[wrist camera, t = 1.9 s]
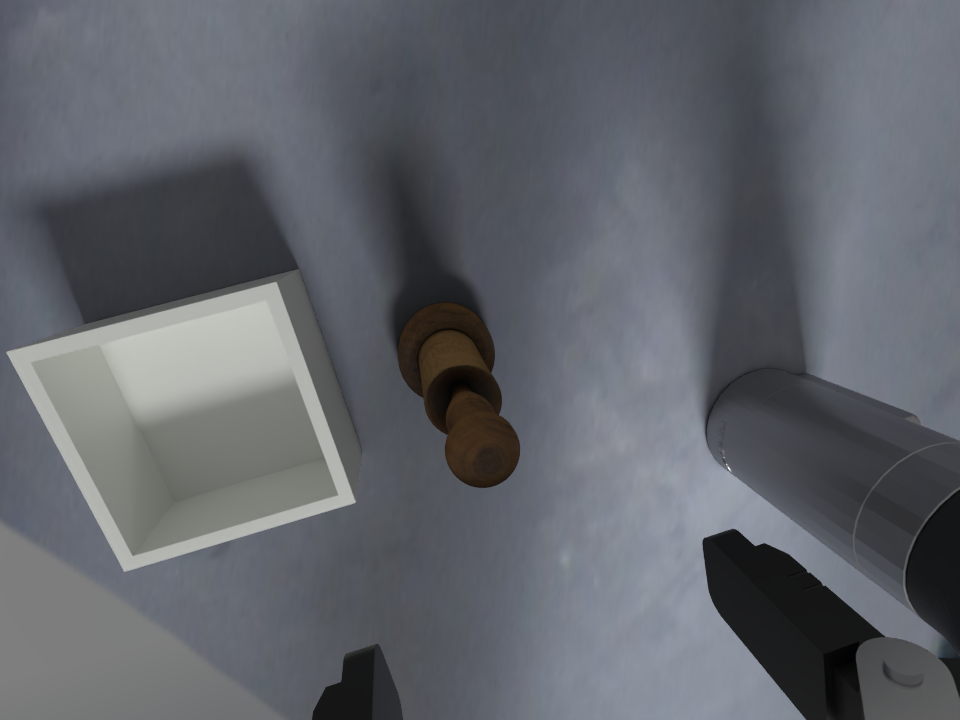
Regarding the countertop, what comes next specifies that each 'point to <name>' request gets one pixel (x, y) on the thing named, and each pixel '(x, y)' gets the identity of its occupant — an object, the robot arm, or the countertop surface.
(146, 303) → the countertop surface
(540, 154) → the countertop surface
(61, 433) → the box
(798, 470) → the robot arm
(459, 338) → the mortar and pestle
